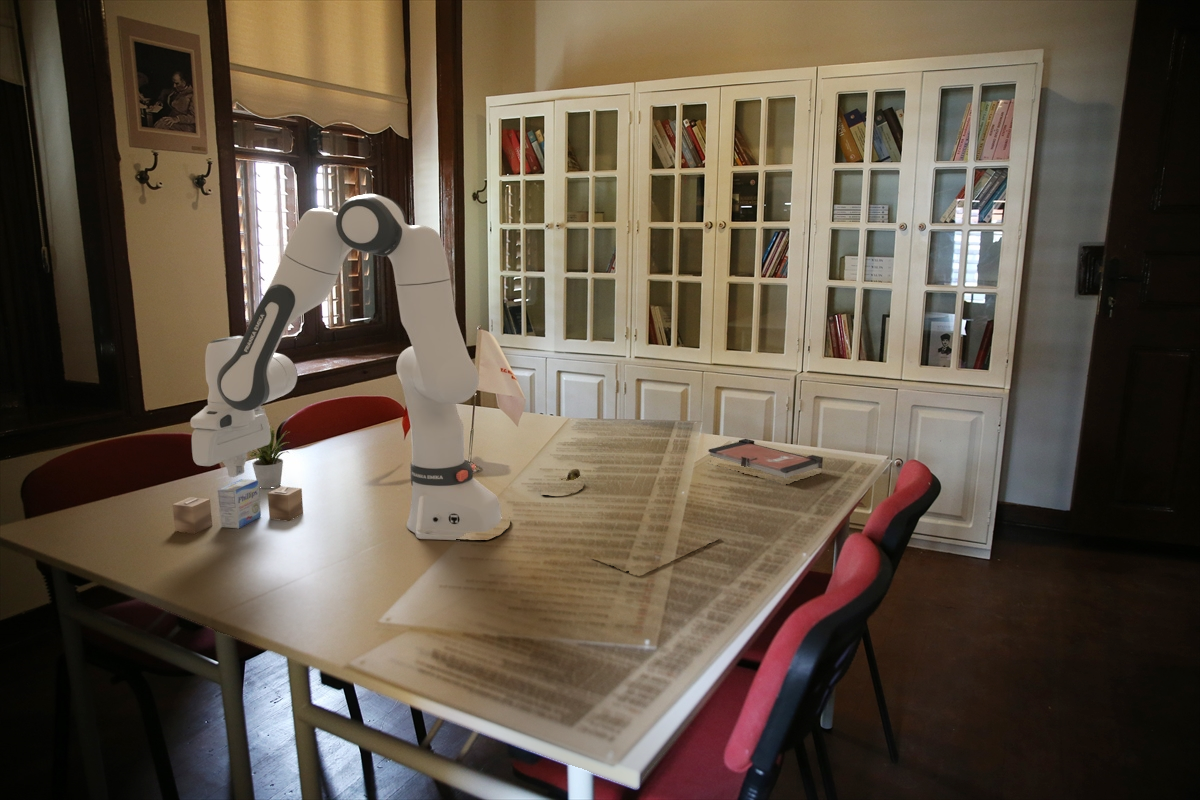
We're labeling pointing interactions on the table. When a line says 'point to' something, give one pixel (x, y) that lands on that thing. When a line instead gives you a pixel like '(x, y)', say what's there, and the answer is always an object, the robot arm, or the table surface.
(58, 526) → the table surface
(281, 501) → the walnut block seven
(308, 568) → the table surface
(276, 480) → the house plant
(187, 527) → the walnut block one
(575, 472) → the seal
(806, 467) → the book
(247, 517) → the medicine box
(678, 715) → the table surface
